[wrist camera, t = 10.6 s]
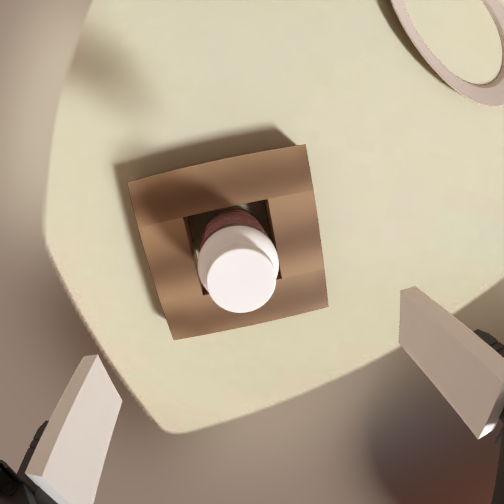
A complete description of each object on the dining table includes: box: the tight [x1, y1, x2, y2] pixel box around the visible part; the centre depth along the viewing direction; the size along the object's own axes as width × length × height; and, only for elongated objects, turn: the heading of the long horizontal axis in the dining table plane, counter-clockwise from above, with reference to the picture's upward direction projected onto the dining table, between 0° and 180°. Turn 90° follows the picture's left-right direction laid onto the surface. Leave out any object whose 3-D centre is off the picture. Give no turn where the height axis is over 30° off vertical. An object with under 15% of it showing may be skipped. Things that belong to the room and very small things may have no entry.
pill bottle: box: [198, 210, 279, 313], centre depth 26 cm, size 6×6×11 cm
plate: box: [390, 0, 504, 107], centre depth 25 cm, size 26×26×2 cm
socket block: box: [127, 144, 328, 340], centre depth 30 cm, size 16×16×3 cm
